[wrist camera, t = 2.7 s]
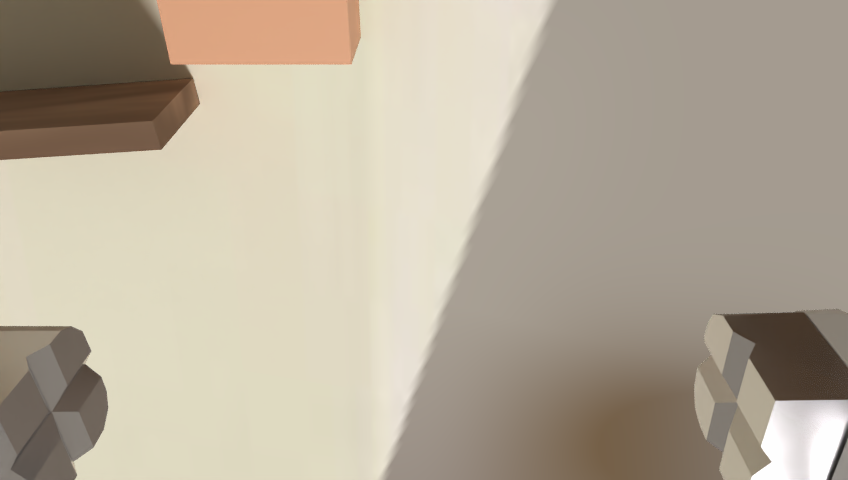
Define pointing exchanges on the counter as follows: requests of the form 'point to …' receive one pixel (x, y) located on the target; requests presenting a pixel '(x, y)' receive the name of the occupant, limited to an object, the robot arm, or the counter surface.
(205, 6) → the block
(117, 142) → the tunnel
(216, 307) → the counter surface
